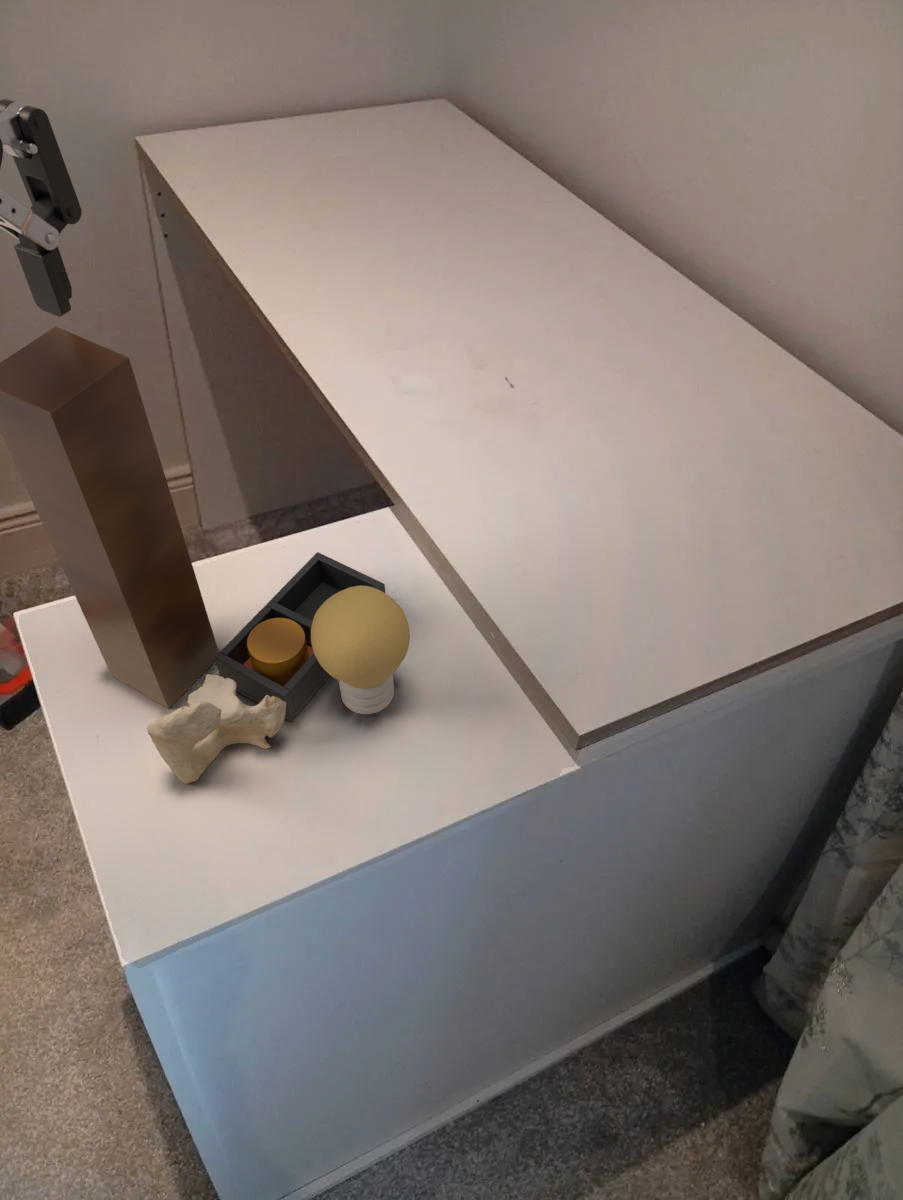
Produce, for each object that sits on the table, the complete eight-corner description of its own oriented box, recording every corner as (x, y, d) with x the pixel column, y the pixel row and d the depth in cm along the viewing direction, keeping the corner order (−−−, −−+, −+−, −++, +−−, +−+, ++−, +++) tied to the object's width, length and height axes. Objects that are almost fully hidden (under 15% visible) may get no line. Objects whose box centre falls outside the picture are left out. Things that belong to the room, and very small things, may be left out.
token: (286, 697, 68) (280, 671, 66) (242, 673, 69) (234, 647, 67) (321, 658, 70) (316, 632, 68) (277, 635, 72) (271, 609, 69)
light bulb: (360, 751, 66) (347, 662, 58) (304, 693, 69) (285, 601, 62) (431, 700, 69) (428, 608, 61) (375, 646, 72) (365, 552, 64)
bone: (270, 657, 69) (262, 638, 60) (301, 743, 69) (298, 738, 59) (151, 699, 68) (123, 686, 58) (181, 787, 67) (157, 790, 57)
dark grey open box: (291, 722, 68) (285, 696, 65) (222, 683, 70) (213, 657, 67) (387, 610, 74) (385, 583, 72) (321, 578, 76) (317, 551, 74)
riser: (168, 709, 68) (50, 413, 49) (111, 676, 70) (-25, 378, 51) (220, 656, 71) (129, 357, 52) (164, 625, 73) (55, 325, 54)
